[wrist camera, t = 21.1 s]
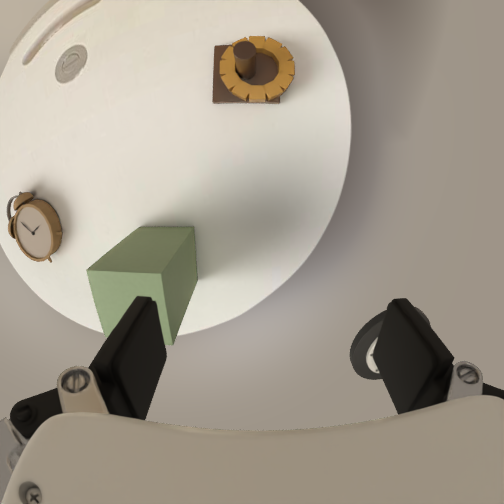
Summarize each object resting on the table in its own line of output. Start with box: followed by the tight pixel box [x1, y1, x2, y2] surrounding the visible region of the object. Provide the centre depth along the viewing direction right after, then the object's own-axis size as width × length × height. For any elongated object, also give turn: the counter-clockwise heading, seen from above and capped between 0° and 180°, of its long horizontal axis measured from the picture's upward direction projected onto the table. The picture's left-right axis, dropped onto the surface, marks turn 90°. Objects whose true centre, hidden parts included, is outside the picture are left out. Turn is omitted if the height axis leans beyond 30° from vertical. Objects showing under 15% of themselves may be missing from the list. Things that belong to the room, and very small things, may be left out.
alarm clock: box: [7, 192, 62, 263], centre depth 38 cm, size 11×5×15 cm
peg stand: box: [213, 41, 280, 104], centre depth 27 cm, size 9×9×10 cm
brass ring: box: [220, 36, 295, 102], centre depth 30 cm, size 10×10×2 cm
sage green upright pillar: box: [86, 227, 198, 345], centre depth 34 cm, size 9×9×16 cm
